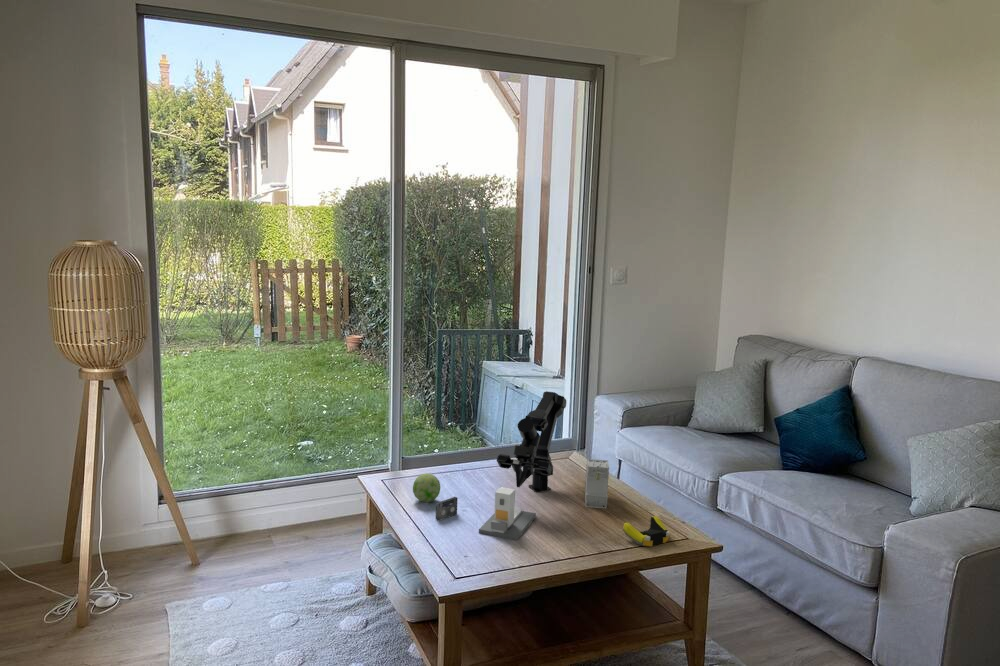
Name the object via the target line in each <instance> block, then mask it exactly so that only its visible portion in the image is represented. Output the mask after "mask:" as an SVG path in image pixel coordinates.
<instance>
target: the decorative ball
mask: <svg viewBox="0 0 1000 666" xmlns="http://www.w3.org/2000/svg"><path fill="white" fill-rule="evenodd" d="M440 482H441V481H440V480H439V479H438V477H437V476H435V475H434V474H431V473H422V474H420V475H418V476H417V477H416V478H415V479H414V481H413V484H412V493H413V495H414V497H415V498H416V499H417V500H418V501H420V502H423V503H431V502H433V501H434V500H436V499H437V498H438V497H439V495H440V491H441V483H440Z"/></svg>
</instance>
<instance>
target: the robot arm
mask: <svg viewBox="0 0 1000 666" xmlns="http://www.w3.org/2000/svg"><path fill="white" fill-rule="evenodd" d="M566 407H567V399H566V397H565V396H564V395H560V394H558V392H554V391H547V390H545V391H544V392H543V393H542V398H541V399H540V401H539V403H538V405H537V406H536V408H535V409H534V410H531V411H529V412H528V413H527V415H525V417H524V418H522V419H520V420H519V421H518V423H517V429H518V432H519V434H520V437H521V438H522V441H521V444H520V445H515V446H514V450H513V455H514V456H515V457H514V458H513V459H512V458H511V457H510V455H508V454H504V453H500V454H498V455H497V457H496V462H497V465H498V466H499V467H500V468H501V469H507V470H509V469H510V468H512V469H513V471H514V473H515V481H516V483H515V484H516V487H517V488H520V487H521V486H523V484H524V483H525V482H526V481H527V479H529V478H530V477H531V476H532V477H531V480H532V482H531V484H528V488H530V489H531V490H533V491H534V492H535V493H538V492H539V493H540V492H547V491H551V490H552V488H551V487H550V486H548V485H549V477H550V476H553V475H554V465H553V463H552V458H551V455H550V447H551V443H552V440H553V437H554V432H555V428H556V424H557V422H558V421H557V420H558V418H560V416H562V415H563V413H564V410H565V409H566ZM539 432H540V434H539Z"/></svg>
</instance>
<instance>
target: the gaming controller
mask: <svg viewBox="0 0 1000 666" xmlns="http://www.w3.org/2000/svg"><path fill="white" fill-rule="evenodd" d="M622 531H623V532H624V534H625V535H626V536H627V537H628V539H631V540H632V541H633V542H635V543H637V544H638V546H641V545H642V546H641V547H653V546H656V545H657V544H658V545H661V544H666V543H667V542H668V540H669V539H670V538H669V537H670V535H669V534H670V530H669V529H667V528H666V527H665V525H664V523H663V521H662V520H661V518H660V517H658V516H655V515H653V516H650V524H649V528H648V529H647V530H643V531H639V530H638V529H636V528H635V527H634V526H633V525H632V524H630V522H625V523H624V524H623V527H622ZM660 543H661V544H660ZM658 545H657V546H658Z"/></svg>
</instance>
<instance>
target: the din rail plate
mask: <svg viewBox="0 0 1000 666" xmlns="http://www.w3.org/2000/svg"><path fill="white" fill-rule="evenodd" d="M494 516H495V512H494V513H493V514H492V515H491V516H490V517H489V518H488V519H487V520H486V521H485V522H484V523H483V524H482V526H481V527H480V528H479V529H478V534H482V533H483V534H484V535H489V536H493V537H498V538H504V539H510V540H514V541H518V540H519V539H520V537H521V536H522V535H521V534H523V533H525V531H526V530H527V528H528V527H529V526H530V525H531V524H532V522H533V521H534V520H535V518H536V517H537V513H535V512H531V511H527V510H526V511H525V510H523V509H522V508H519V507H514V522H513V525H512V526H511V527H510V528H509V529H508V527H507V523H506V522H501V521H495V520H494Z"/></svg>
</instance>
